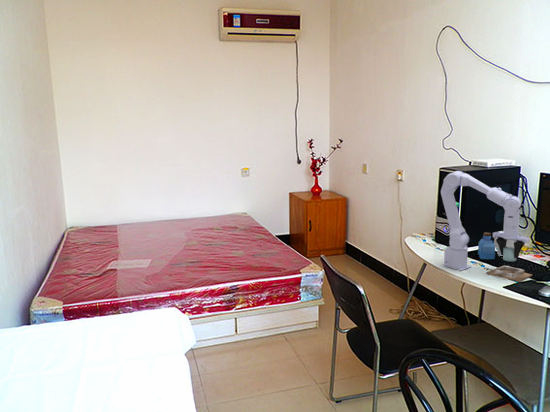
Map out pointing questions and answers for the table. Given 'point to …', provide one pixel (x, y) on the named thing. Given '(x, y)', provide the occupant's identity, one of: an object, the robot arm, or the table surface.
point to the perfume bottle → (486, 247)
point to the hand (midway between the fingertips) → (509, 256)
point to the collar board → (509, 273)
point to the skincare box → (509, 244)
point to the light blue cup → (508, 254)
